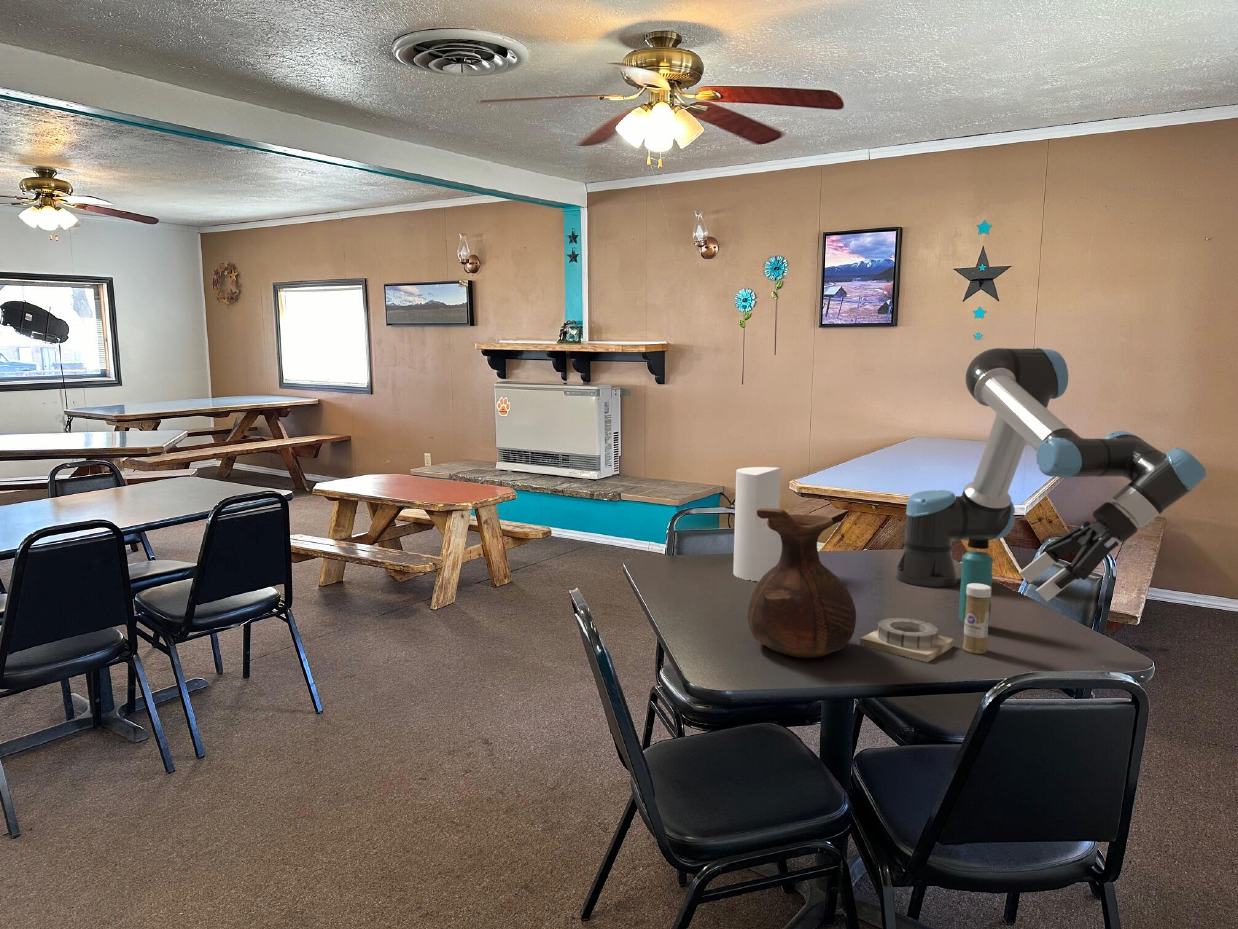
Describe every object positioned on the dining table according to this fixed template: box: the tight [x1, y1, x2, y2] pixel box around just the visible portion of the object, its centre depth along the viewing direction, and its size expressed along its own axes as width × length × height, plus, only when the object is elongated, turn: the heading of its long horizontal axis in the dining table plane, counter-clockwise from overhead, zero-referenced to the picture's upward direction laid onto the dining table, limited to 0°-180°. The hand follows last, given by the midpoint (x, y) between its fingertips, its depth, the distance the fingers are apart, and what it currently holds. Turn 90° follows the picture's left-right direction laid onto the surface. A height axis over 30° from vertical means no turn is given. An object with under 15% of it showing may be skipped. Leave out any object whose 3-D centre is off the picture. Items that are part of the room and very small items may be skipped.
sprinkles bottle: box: [962, 583, 992, 655], centre depth 169 cm, size 5×5×14 cm
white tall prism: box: [732, 466, 782, 583], centre depth 225 cm, size 17×17×28 cm
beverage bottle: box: [957, 536, 994, 623], centre depth 183 cm, size 6×7×20 cm
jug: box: [747, 508, 857, 659], centre depth 168 cm, size 22×22×30 cm
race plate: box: [859, 617, 955, 663], centre depth 172 cm, size 13×14×4 cm
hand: (1032, 586), depth 165 cm, fingers open, 13 cm apart
